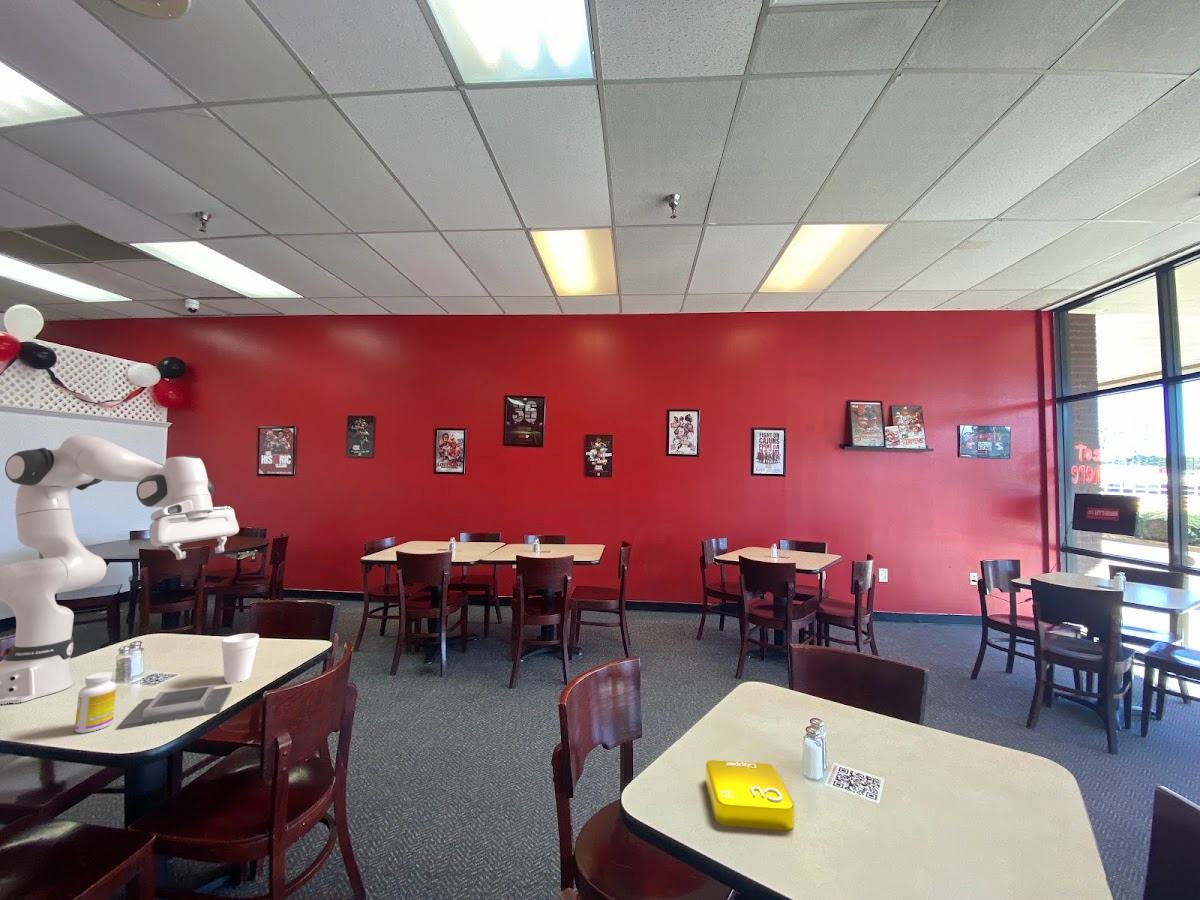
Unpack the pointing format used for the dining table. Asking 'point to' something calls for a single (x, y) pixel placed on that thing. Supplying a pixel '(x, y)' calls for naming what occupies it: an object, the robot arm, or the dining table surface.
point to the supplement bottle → (95, 703)
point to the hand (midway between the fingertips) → (201, 555)
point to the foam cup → (239, 656)
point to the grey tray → (178, 705)
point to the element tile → (748, 795)
